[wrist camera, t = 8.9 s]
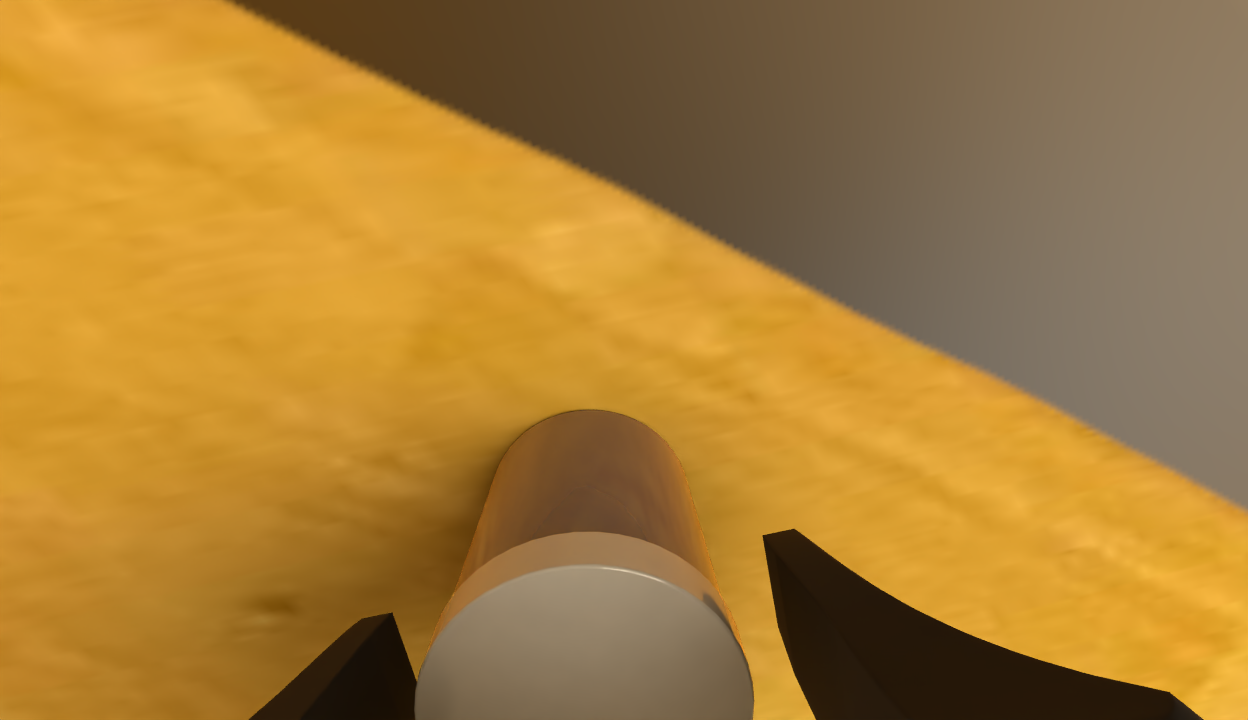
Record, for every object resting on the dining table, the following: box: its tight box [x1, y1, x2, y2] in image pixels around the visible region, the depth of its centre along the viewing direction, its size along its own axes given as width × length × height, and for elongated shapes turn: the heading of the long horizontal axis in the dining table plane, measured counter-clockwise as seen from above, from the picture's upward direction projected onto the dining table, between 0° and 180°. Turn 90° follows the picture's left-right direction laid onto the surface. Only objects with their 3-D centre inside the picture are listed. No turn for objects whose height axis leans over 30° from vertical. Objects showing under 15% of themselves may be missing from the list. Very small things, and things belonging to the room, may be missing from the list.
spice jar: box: [414, 410, 754, 720], centre depth 14 cm, size 5×5×7 cm
